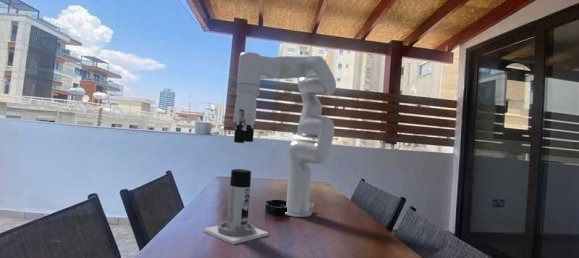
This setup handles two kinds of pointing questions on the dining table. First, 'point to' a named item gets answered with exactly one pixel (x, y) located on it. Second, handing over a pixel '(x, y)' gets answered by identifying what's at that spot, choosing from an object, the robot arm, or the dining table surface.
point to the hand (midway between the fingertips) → (243, 142)
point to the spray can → (239, 200)
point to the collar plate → (235, 239)
